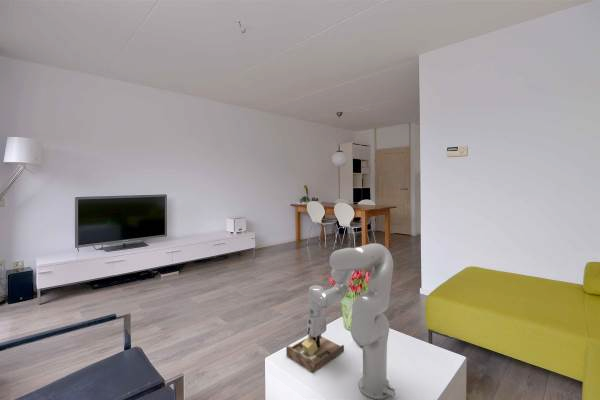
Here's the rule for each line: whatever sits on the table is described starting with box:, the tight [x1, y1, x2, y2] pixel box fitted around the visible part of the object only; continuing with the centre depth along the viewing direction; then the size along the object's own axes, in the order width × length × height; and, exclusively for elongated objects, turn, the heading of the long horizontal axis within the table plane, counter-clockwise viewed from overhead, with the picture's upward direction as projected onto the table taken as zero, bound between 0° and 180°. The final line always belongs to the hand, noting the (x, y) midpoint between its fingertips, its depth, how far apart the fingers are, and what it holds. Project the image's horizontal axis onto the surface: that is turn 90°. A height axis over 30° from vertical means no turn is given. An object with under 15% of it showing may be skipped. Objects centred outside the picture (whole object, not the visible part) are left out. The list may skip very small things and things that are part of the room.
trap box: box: [285, 335, 345, 374], centre depth 140 cm, size 18×23×5 cm
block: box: [302, 337, 318, 356], centre depth 137 cm, size 5×5×5 cm
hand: (316, 346), depth 141 cm, fingers closed
